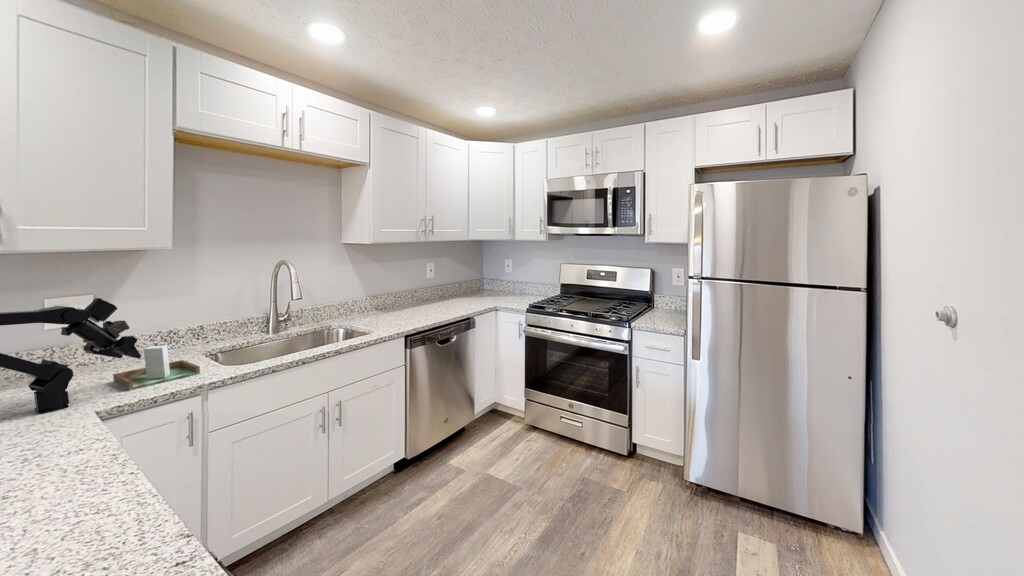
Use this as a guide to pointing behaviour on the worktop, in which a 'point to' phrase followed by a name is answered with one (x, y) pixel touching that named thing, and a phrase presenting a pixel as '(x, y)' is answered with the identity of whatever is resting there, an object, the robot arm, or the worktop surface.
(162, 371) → the skincare box
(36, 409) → the robot arm
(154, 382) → the box
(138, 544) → the worktop surface
